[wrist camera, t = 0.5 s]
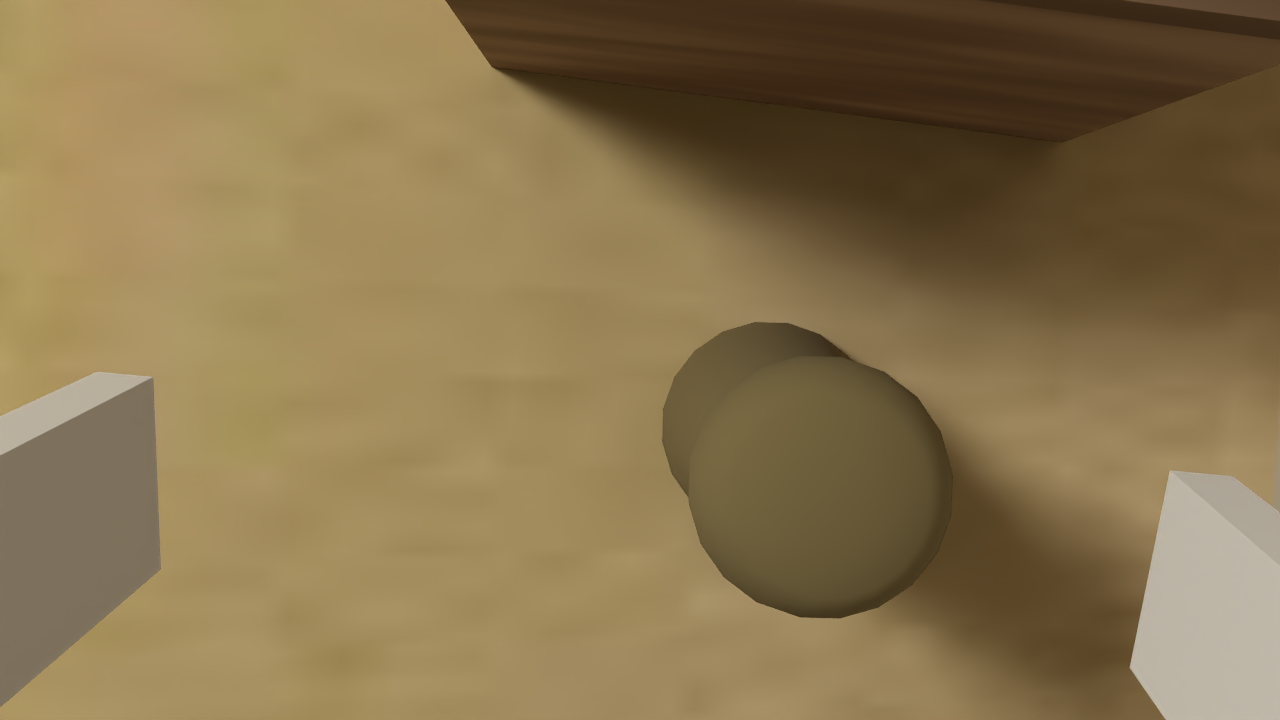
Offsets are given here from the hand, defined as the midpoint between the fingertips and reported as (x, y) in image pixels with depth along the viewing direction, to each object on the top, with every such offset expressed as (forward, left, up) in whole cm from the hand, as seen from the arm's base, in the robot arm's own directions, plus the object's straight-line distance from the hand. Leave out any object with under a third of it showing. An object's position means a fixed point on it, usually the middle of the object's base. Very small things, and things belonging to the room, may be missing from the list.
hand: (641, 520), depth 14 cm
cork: (0, -4, -17) cm, 18 cm away
